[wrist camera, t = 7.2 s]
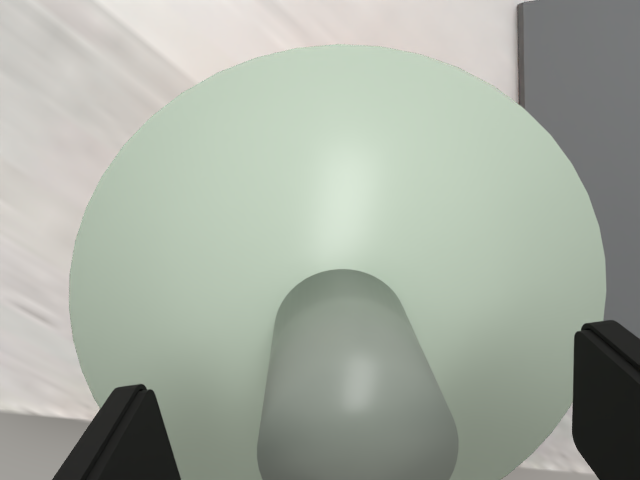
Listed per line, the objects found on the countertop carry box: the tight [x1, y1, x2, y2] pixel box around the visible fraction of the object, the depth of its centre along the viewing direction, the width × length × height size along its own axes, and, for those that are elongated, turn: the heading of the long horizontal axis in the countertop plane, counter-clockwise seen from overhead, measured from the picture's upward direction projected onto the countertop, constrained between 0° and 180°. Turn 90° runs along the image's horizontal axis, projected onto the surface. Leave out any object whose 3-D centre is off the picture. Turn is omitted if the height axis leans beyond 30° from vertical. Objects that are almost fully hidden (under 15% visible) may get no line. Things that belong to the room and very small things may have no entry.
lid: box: [69, 44, 606, 480], centre depth 12 cm, size 16×16×6 cm
